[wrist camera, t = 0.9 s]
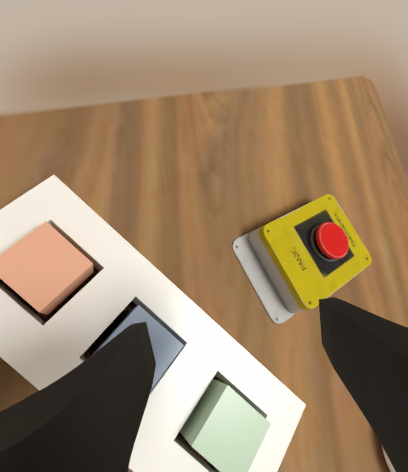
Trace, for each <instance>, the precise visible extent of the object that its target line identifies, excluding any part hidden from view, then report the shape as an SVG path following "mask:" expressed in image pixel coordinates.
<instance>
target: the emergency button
mask: <svg viewBox="0 0 408 472" xmlns="http://www.w3.org/2000/svg"><path fill="white" fill-rule="evenodd" d="M232 248H233V252H234V254H235V255H236V257H237V259H238V261H239V263H240V264H241V266H242V268H243V270H244V272H245V274H246V275H247V277H248V279H249V281H250V283H251V284H252V286H253V288H254V290H255V292H256V294H257V295H258V297H259V299H260V301H261V303H262V305H263V306H264V308H265V310H266V312H267V314H268V315H269V317H270V319H271V320H272V321H273V322H274V323H277V324H281V323H284V322H285V321H287V320H288V319H289V318H291V317H292V316H293V315H294V314H296V313H297V312H300V311H306V310H310V309H313V308H315V307H316V306H318V305H319V299H325V298H328V297H329V296H330V295H332V294H333V293H334V292H336V291H337V290H338V289H339V288H341V287H342V286H343V285H344V284H346V283H347V282H348V281H350V280H351V279H352V278H353V277H355V276H356V275H357V274H358V273H360V272H361V271H362V270H364V269H365V268H366V267H367V266H369V265H370V264H371V256H370V254H369V252H368V251H367V249H366V247H365V246H364V244H363V243H362V241H361V239H360V238H359V236H358V235H357V233H356V231H355V230H354V228H353V227H352V225H351V223H350V222H349V220H348V219H347V217H346V215H345V214H344V212H343V211H342V209H341V207H340V206H339V204H338V202H337V201H336V199H335V198H334V197H333V196H332V195H330V194H326V195H324V196H322V197H320V198H318V199H315V200H313V201H311V202H309V203H307V204H305V205H303V206H301V207H299V208H297V209H295V210H293V211H291V212H289V213H287V214H285V215H283V216H281V217H279V218H277V219H275V220H273V221H271V222H269V223H267V224H265V225H263V226H261V227H259V228H257V229H255V230H253V231H251V232H249V233H247V234H245V235H243V236H241V237H239V238H237V239H236V240H235V241H234V242H233V245H232Z"/></svg>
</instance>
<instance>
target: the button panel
mask: <svg viewBox="0 0 408 472" xmlns="http://www.w3.org/2000/svg"><path fill="white" fill-rule="evenodd" d="M46 221H47V222H48V223H49V224H50V225H51V226H52V227H53V228H54V229H56V230H57V231H58V232H59V233H60V234H61V235H62V236H63V237H64V238H65V239H67V240H68V241H69V242H70V243H71V244H72V245H73V246H74V247H75V248H77V249H78V250H79V251H80V252H81V253H82V254H83V255H84V256H85V257H87V258H88V259H89V260H90V261H91V262H92V263H93V267H95V268H96V269H97V270H98V271H99V273H98V274H97V275H96V276H95V277H94V278H93V279H92V280H91V281H90V282H89V283H88V284H87V285H86V286H84V287H83V288H82V289H81V290H80V291H79V292H78V293H77V294H76V295H75V296H74V297H73V298H72V299H71V300H70V301H69V302H68V303H66V304H65V305H64V306H63V307H62V308H61V309H60V310H59V311H58V312H57V313H56V314H55V315H54V316H53V317H52V318H51V319H50V320H48V321H47V322H45V321H44V320H43V319H41V318H40V317H39V316H38V315H37V314H36V313H35V312H33V311H32V310H31V309H30V308H29V307H28V306H27V305H25V304H24V303H23V302H22V301H21V300H20V299H19V298H17V297H16V296H15V295H14V294H13V293H12V292H11V291H9V290H8V289H7V288H6V287H5V286H4V285H3V284H2V283H0V357H1V358H2V359H3V360H4V361H6V362H7V363H8V364H9V365H10V366H11V367H12V368H14V369H15V370H16V371H17V372H18V373H19V374H21V375H22V376H23V377H24V378H25V379H26V380H28V381H29V382H30V383H31V384H32V385H33V386H35V387H36V388H37V389H38V390H39V391H40V390H42V389H43V388H45V387H47V386H48V385H50V384H52V383H53V382H55V381H56V380H58V379H59V378H61V377H63V376H64V375H66V374H67V373H69V372H70V371H71V370H73V369H74V368H76V367H77V366H78V365H80V364H81V363H82V362H84V361H85V360H86V359H87V358H86V357H85V356H84V355H82V354H83V353H84V352H85V351H86V350H87V349H88V348H89V347H90V346H91V345H92V343H93V342H94V341H95V340H96V339H97V338H98V337H99V336H100V335H101V334H102V333H103V331H104V330H105V329H106V328H107V327H108V326H109V325H110V324H111V323H112V322H113V321H114V320H115V318H116V317H117V316H118V315H119V314H120V313H121V312H122V311H123V310H124V309H125V308H126V306H127V305H128V304H129V303H130V302H131V301H132V302H133V303H135V304H136V305H137V306H138V305H140V306H141V307H142V308H143V309H144V310H145V311H146V312H148V313H149V314H150V315H151V316H152V317H153V318H154V319H155V320H156V321H158V322H159V323H160V324H161V325H162V326H163V327H164V328H165V329H166V330H168V331H169V332H170V333H171V334H172V335H173V336H174V337H175V338H176V339H178V340H179V341H180V342H181V343H182V344H183V345H184V346H183V347H182V348H181V350H180V351H179V353H178V354H177V355H176V357H175V358H174V359H173V361H172V362H171V364H170V365H169V366H168V368H167V369H166V370H165V372H164V373H163V374H162V376H161V377H160V379H159V380H158V381H157V383H156V384H155V385H154V387H153V388H152V390H151V392H150V395H149V399H148V402H147V405H146V408H145V411H144V415H143V418H142V421H141V424H140V427H139V431H138V434H137V437H136V440H135V443H134V447H133V451H132V454H131V458H130V462H129V468H130V469H131V470H132V471H133V472H220V471H219V470H218V469H217V468H215V467H214V469H212V468H211V467H210V466H209V465H208V464H207V463H205V462H204V461H203V460H202V459H201V458H200V457H199V456H197V455H196V454H195V453H194V452H193V451H192V450H191V449H189V448H188V447H187V446H186V445H185V444H184V443H183V442H181V441H180V440H179V439H178V438H177V437H176V436H177V434H178V433H179V431H180V430H181V428H182V426H183V425H184V423H185V422H186V420H187V419H188V417H189V415H190V414H191V412H192V411H193V409H194V407H195V406H196V404H197V403H198V401H199V399H200V398H201V396H202V395H203V393H204V392H205V390H206V388H207V387H208V385H209V384H210V382H211V380H212V379H213V377H214V376H216V377H217V378H218V379H219V380H220V381H221V382H222V383H225V384H227V385H229V386H230V387H231V388H232V389H233V390H234V391H235V392H236V393H237V394H239V395H240V396H241V397H242V398H243V399H244V400H245V401H246V402H247V403H249V404H250V405H251V406H252V407H253V408H254V409H255V410H256V411H257V412H259V413H260V414H261V415H262V416H263V417H264V418H265V419H266V420H267V421H269V422H270V423H271V425H270V427H269V429H268V431H267V433H266V435H265V437H264V440H263V442H262V444H261V446H260V448H259V450H258V452H257V454H256V456H255V458H254V460H253V463H252V465H251V467H250V469H249V471H248V472H277V471H278V468H279V466H280V464H281V461H282V459H283V457H284V455H285V452H286V450H287V448H288V445H289V443H290V441H291V438H292V436H293V434H294V431H295V429H296V427H297V424H298V422H299V420H300V417H301V415H302V413H303V410H304V408H305V406H306V405H305V404H304V403H303V402H302V401H301V400H300V399H299V398H298V397H297V396H296V395H295V394H293V393H292V392H291V391H290V390H289V389H288V388H287V387H286V386H285V385H284V384H282V383H281V382H280V381H279V380H278V379H277V378H276V377H275V376H274V375H273V374H272V373H270V372H269V371H268V370H267V369H266V368H265V367H264V366H263V365H262V364H261V363H260V362H258V361H257V360H256V359H255V358H254V357H253V356H252V355H251V354H250V353H249V352H247V351H246V350H245V349H244V348H243V347H242V346H241V345H240V344H239V343H238V342H237V341H235V340H234V339H233V338H232V337H231V336H230V335H229V334H228V333H227V332H226V331H224V330H223V329H222V328H221V327H220V326H219V325H218V324H217V323H216V322H215V321H214V320H212V319H211V318H210V317H209V316H208V315H207V314H206V313H205V312H204V311H203V310H201V309H200V308H199V307H198V306H197V305H196V304H195V303H194V302H193V301H192V300H191V299H189V298H188V297H187V296H186V295H185V294H184V293H183V292H182V291H181V290H180V289H178V288H177V287H176V286H175V285H174V284H173V283H172V282H171V281H170V280H169V279H168V278H166V277H165V276H164V275H163V274H162V273H161V272H160V271H159V270H158V269H157V268H155V267H154V266H153V265H152V264H151V263H150V262H149V261H148V260H147V259H146V258H145V257H143V256H142V255H141V254H140V253H139V252H138V251H137V250H136V249H135V248H134V247H132V246H131V245H130V244H129V243H128V242H127V241H126V240H125V239H124V238H123V237H122V236H120V235H119V234H118V233H117V232H116V231H115V230H114V229H113V228H112V227H111V226H109V225H108V224H107V223H106V222H105V221H104V220H103V219H102V218H101V217H100V216H99V215H97V214H96V213H95V212H94V211H93V210H92V209H91V208H90V207H89V206H88V205H87V204H85V203H84V202H83V201H82V200H81V199H80V198H79V197H78V196H77V195H76V194H74V193H73V192H72V191H71V190H70V189H69V188H68V187H67V186H66V185H65V184H64V183H62V182H61V181H60V180H59V179H58V178H57V177H56V176H55V175H52V176H51V177H49V178H48V179H46V180H45V181H43V182H42V183H40V184H39V185H37V186H36V187H34V188H33V189H31V190H30V191H28V192H27V193H25V194H24V195H22V196H20V197H19V198H17V199H16V200H14V201H13V202H11V203H10V204H8V205H7V206H5V207H4V208H2V209H1V210H0V255H1V254H2V253H4V252H5V251H6V250H8V249H9V248H10V247H12V246H13V245H14V244H16V243H17V242H18V241H20V240H21V239H23V238H24V237H25V236H27V235H28V234H29V233H31V232H32V231H33V230H35V229H36V228H37V227H39V226H40V225H41V224H43V223H44V222H46Z"/></svg>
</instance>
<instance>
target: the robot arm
mask: <svg viewBox="0 0 408 472" xmlns="http://www.w3.org/2000/svg"><path fill="white" fill-rule="evenodd" d="M319 309H320V322H321V335H322V345H323V347H324V349H325V351H326V353H327V355H328V357H329V359H330V362H331V364H332V366H333V367H334V369H335V371H336V372H337V374H338V375H339V377H340V379H341V380H342V382H343V383H344V385H345V386H346V388H347V389H348V391H349V393H350V394H351V396H352V397H353V399H354V400H355V402H356V403H357V405H358V406H359V408H360V409H361V411H362V413H363V414H364V416H365V417H366V419H367V420H368V422H369V424H370V425H371V427H372V429H373V430H374V432H375V434H376V435H377V437H378V439H379V441H380V443H381V445H382V447H383V449H384V450H385V452H386V454H387V456H388V458H389V460H390V462H391V464H392V466H393V467H394V469H395V471H396V472H408V328H407V327H404V326H402V325H399V324H396V323H394V322H391V321H389V320H386V319H384V318H381V317H379V316H377V315H374V314H372V313H370V312H368V311H365V310H363V309H361V308H359V307H356V306H354V305H352V304H350V303H347V302H345V301H343V300H340V299H338V298H335V297H333V298H325V299H319ZM155 367H156V361H155V357H154V353H153V349H152V344H151V340H150V336H149V332H148V327H147V323H146V322H142V323H134V324H131V325H130V326H128V327H127V328H125V329H124V330H123V331H122V332H120V333H119V334H118V335H117V336H115V337H114V338H113V339H112V340H111V341H109V342H108V343H107V344H106V345H104V346H103V347H102V348H101V349H99V350H98V351H97V352H96V353H94V354H93V355H92V356H90V357H89V358H88V359H86V360H85V361H84V362H82V363H81V364H80V365H78V366H77V367H76V368H74V369H73V370H71V371H70V372H69V373H67V374H66V375H64V376H63V377H61V378H59V379H58V380H56V381H55V382H53V383H52V384H50V385H48V386H47V387H45V388H43V389H42V390H40V391H38V392H36V393H34V394H33V395H31V396H29V397H27V398H25V399H24V400H22V401H20V402H18V403H17V404H15V405H13V406H11V407H9V408H7V409H5V410H3V411H1V412H0V472H128V467H129V462H130V458H131V454H132V451H133V447H134V443H135V440H136V437H137V434H138V431H139V427H140V424H141V421H142V418H143V415H144V411H145V408H146V405H147V402H148V399H149V395H150V392H151V389H152V384H153V379H154V373H155Z"/></svg>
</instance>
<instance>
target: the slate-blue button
mask: <svg viewBox="0 0 408 472" xmlns="http://www.w3.org/2000/svg"><path fill="white" fill-rule="evenodd" d="M142 322H146V323H147V327H148V332H149V336H150V340H151V344H152V349H153V353H154V357H155V361H156V367H155V373H154V379H153V384H152V388H153V387H154V385H155V384H156V383H157V381H158V380H159V379H160V377H161V376H162V374H163V373H164V372H165V370H166V369H167V368H168V366H169V365H170V364H171V362H172V361H173V359H174V358H175V357H176V355H177V354H178V353H179V351H180V350H181V348H182V347H183V346H184V345H183V344H182V343H181V342H180V341H179V340H178V339H176V338H175V337H174V336H173V335H172V334H171V333H170V332H169V331H168V330H166V329H165V328H164V327H163V326H162V325H161V324H160V323H159V322H158V321H156V320H155V319H154V318H153V317H152V316H151V315H150V314H149V313H148V312H146V311H145V310H144V309H143V308H142V307H141V306H140V305H138V306H136V307H135V308H133V309H132V311H131V312H130V313H129V314H128V315H127V316H126V317H125V318H124V319H123V321H122V322H121V323H120V324H119V325H118V326H117V327H116V328H115V329H114V330H113V332H112V333H111V334H110V335H109V336H108V337H107V338H106V339H105V340H104V342H103V343H102V344H101V345H100V346H99V347H98V348H97V349H96V350H95V352H94V353H96V352H97V351H98V350H99V349H101V348H102V347H103V346H104V345H106V344H107V343H108V342H109V341H111V340H112V339H113V338H114V337H115V336H117V335H118V334H119V333H120V332H122V331H123V330H124V329H125V328H127V327H128V326H130V325H131V324H134V323H142ZM94 353H93V354H94ZM93 354H92V355H93ZM151 390H152V389H151Z"/></svg>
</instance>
